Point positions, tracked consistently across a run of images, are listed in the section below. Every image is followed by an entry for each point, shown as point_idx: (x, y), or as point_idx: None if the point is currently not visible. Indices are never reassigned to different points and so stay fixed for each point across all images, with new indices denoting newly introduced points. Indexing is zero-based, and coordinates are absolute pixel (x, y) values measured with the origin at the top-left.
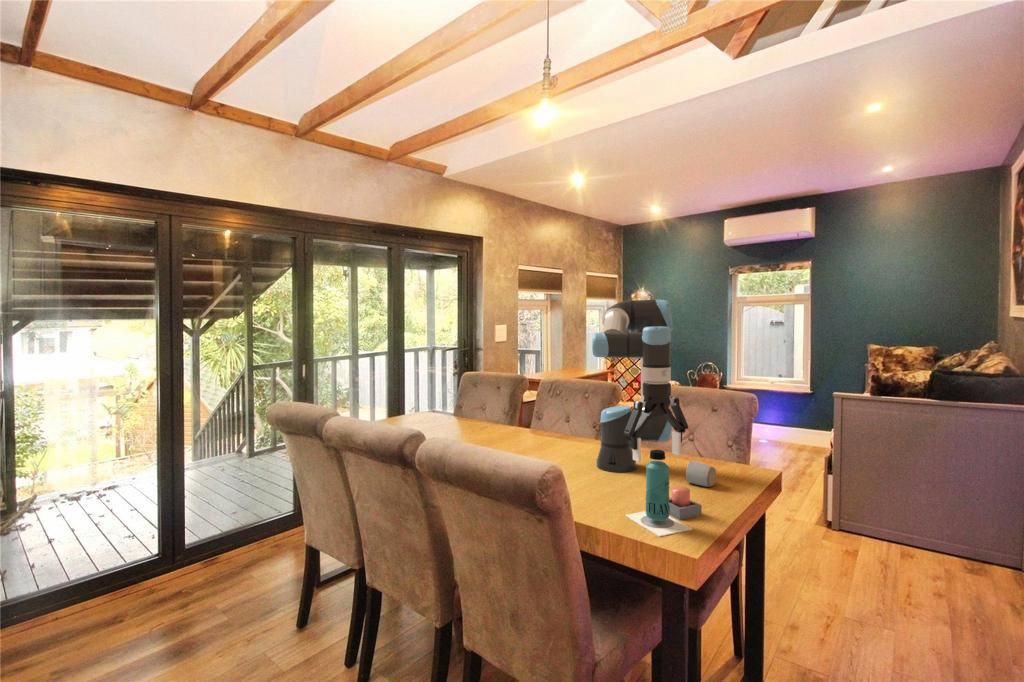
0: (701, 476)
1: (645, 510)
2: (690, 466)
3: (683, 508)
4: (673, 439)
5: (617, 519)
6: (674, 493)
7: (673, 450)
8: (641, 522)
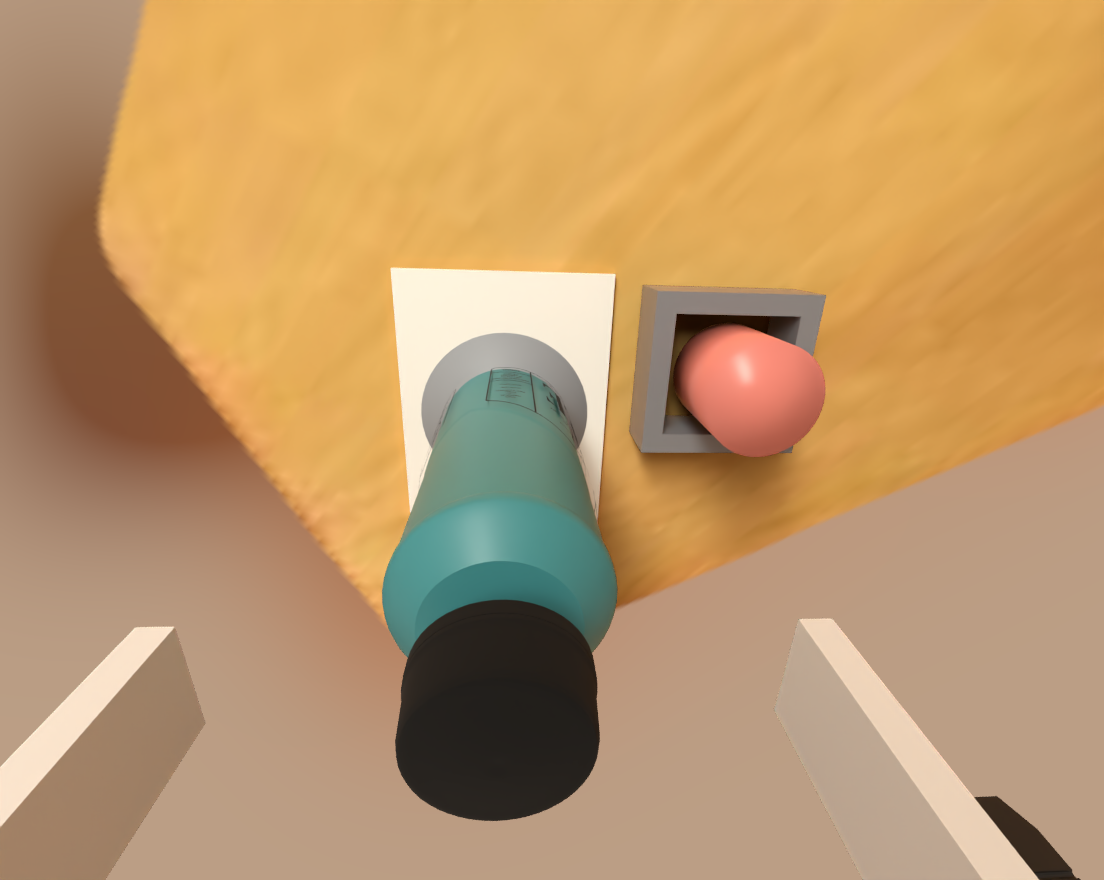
0: None
1: (455, 390)
2: None
3: (668, 452)
4: (931, 861)
5: (326, 288)
6: (699, 399)
7: (816, 679)
8: (422, 391)
